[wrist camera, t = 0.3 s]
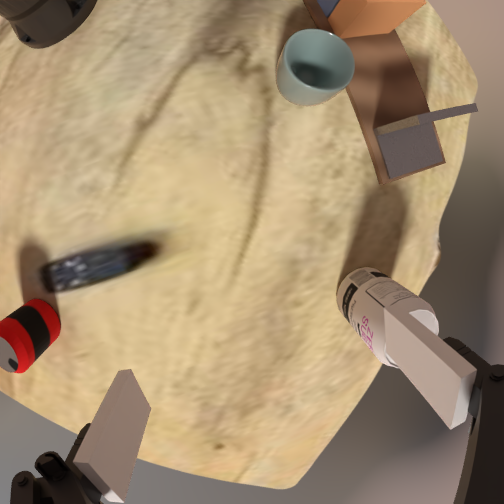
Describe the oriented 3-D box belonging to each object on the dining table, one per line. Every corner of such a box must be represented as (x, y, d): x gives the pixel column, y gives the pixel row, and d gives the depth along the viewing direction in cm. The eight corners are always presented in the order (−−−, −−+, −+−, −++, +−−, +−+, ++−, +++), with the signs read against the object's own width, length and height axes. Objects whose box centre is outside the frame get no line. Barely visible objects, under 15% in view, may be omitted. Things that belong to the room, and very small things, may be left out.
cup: (268, 108, 37) (280, 85, 27) (273, 55, 35) (285, 21, 25) (327, 116, 37) (355, 98, 28) (329, 65, 36) (356, 36, 26)
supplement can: (395, 287, 43) (453, 329, 29) (359, 328, 44) (404, 383, 30) (362, 254, 42) (419, 288, 27) (323, 298, 43) (364, 351, 28)
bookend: (372, 129, 37) (416, 115, 26) (427, 115, 36) (475, 103, 26) (388, 178, 38) (436, 180, 27) (441, 161, 38) (491, 159, 27)
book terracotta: (327, 19, 33) (353, -21, 22) (378, 14, 33) (412, -19, 22) (337, 39, 34) (367, 2, 23) (388, 33, 34) (426, 3, 23)
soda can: (53, 348, 42) (18, 387, 30) (21, 320, 41) (-19, 352, 29) (67, 318, 41) (29, 356, 29) (33, 288, 40) (-11, 317, 28)
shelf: (298, -7, 33) (320, -60, 20) (365, -13, 32) (400, -55, 20) (379, 184, 40) (435, 187, 27) (441, 163, 39) (500, 162, 27)
